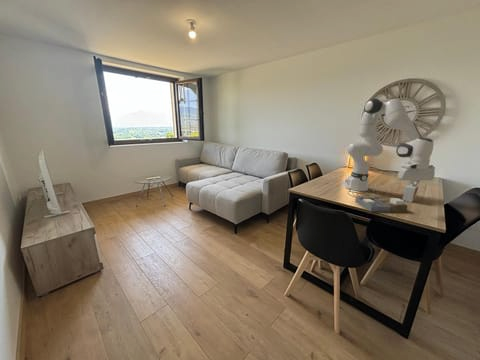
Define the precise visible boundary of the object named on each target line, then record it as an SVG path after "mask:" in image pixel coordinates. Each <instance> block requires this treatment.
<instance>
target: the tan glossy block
mask: <svg viewBox="0 0 480 360" xmlns="http://www.w3.org/2000/svg"><path fill="white" fill-rule="evenodd" d="M374 198H376V199H378V200H380V201H382V202H384V203H385V204H387V205H389V206H391V209H390V213H392V212H397V213H401V212H403V213H405V212H407V211H408V207H409V205H407V204H405V203H404V205H395V204H393V203H391V202H390V198H391V197H390V196H374Z"/></svg>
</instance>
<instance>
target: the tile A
mask: <svg viewBox="0 0 480 360" xmlns="http://www.w3.org/2000/svg"><path fill="white" fill-rule="evenodd" d="M363 201H364V202H366V203H368V204H369V205H374V204H375V201H373V200H371V199H363Z"/></svg>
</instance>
